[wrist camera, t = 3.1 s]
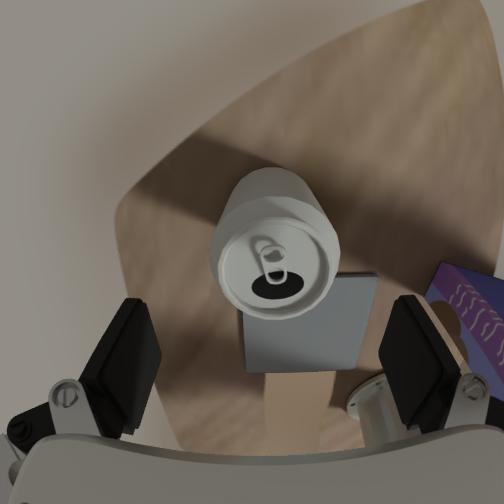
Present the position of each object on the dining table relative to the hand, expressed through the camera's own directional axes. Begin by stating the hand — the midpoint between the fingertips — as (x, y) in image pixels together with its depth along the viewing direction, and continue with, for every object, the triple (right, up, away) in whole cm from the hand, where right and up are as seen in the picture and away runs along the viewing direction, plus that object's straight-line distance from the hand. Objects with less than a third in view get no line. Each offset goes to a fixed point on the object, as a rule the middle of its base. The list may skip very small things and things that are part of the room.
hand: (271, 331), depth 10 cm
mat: (+5, -6, +21) cm, 23 cm away
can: (+1, +7, +15) cm, 17 cm away
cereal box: (+28, -2, +18) cm, 34 cm away
